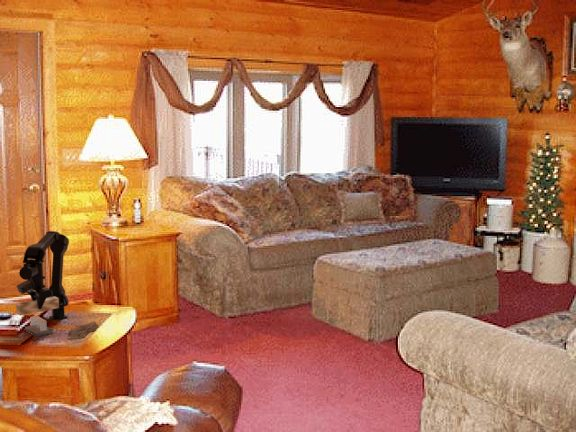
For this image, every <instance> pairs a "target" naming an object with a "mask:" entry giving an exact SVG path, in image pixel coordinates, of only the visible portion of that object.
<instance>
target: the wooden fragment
mask: <svg viewBox="0 0 576 432" xmlns="http://www.w3.org/2000/svg"><path fill="white" fill-rule="evenodd" d="M99 327H100V326H99V325H98V324H97V322H96V321H91V322H89V323H88V322H87V323H85V324H83V325H79V326H77V327H75V328H72V329H70V330H69V331H68V337H67V340H79V339H86V336H87V335H89V334H90V333H92V332H94V331H95V332H96V331H97V329H98V328H99Z"/></svg>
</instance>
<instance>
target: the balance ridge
mask: <svg viewBox="0 0 576 432" xmlns="http://www.w3.org/2000/svg"><path fill="white" fill-rule="evenodd" d="M29 318H30V325H28V326H24V327H25V329H24V331H25V330H26V331H25V332H27V331H28V332H30V333H32V334H33V335H32V334H31V335H32V336H34V337H35V338H37V337H42V336H47V335H52V334H54V329H52V328H51V327H49V326H47V323H48V321H47V320H46V319H43V318H42V317H40V316H38V315H34V316H30V317H29ZM28 332H27V333H28ZM30 333H29V334H30Z"/></svg>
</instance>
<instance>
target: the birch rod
mask: <svg viewBox="0 0 576 432" xmlns="http://www.w3.org/2000/svg"><path fill="white" fill-rule="evenodd" d="M56 308H59V298H57V297H55V296H54V297H49V298H46V300H45V302H44V304H43V306H42V309H38V304H37V300H33V301H32V300H27V301H22V302H17V303H15V312H16V315H17V316H24V315H31V314H35V313H39V312H45V311H49V310H51V311H52V309H56Z"/></svg>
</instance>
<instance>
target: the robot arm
mask: <svg viewBox="0 0 576 432" xmlns="http://www.w3.org/2000/svg"><path fill="white" fill-rule="evenodd" d="M69 244H70V240H69V238H68V236H66V235H65V234H62V233H60V232H58V231H56V230H55V231H54V230H48V231H46V233H45V235H43V236H42V238H41V239H39V241H38V242H37V243H34V244H31V245H29V246H27V248H26V249H25V251H24V252H25V253H24V256H23V261H22V264H23V266H22V267H21V268H20V270H19V273H18V274H19V276H20V278H21V279H23V280H24V281H23V282H20V283H18V284H17V285H16V290H17V291H18V293H20V294H22V295H23V294H28V295H29V296H30V298H31V301H33V300H37V304H38V309H42V306H43V304H44V302H45V300H46V298H49V297H54V296H55V297H57V298H59V308H56V309H51V315H50V316H49V317H48V318H50V319H52V320H54V321H57V320H63V319H66V318H68V315H66V314H65V313H66V312H65V307H67V306H68V305H69V298H68V296H67V295H66V289H65V288H64V286H63V274H64V272H63V271H64V256H65V253H66V252H67V251H68V247H69ZM48 249H49V250H50V251H51V253H52V266H51V267H52V268H51V282H50V283H51V284H50V286H49V287H46V284H44V280H45V279H46V276H44V264H43V263H45V257H46V255H47V254H46V253H47V252H46V251H47V250H48Z"/></svg>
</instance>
